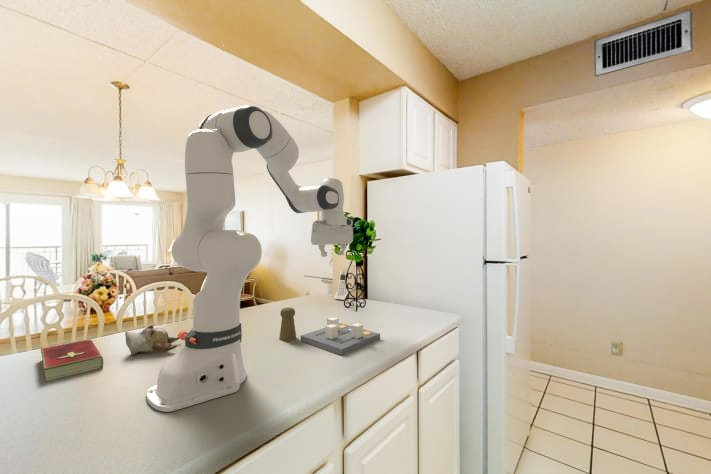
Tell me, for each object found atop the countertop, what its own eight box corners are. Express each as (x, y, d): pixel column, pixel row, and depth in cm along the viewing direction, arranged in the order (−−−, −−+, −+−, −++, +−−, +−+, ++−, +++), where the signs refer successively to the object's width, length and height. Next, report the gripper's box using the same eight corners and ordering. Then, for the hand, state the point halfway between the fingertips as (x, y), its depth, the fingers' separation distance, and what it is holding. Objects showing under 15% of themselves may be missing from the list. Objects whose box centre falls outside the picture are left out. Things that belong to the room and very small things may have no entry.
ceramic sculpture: (130, 322, 104) (181, 320, 110) (129, 348, 104) (180, 345, 110) (120, 332, 94) (177, 329, 100) (118, 360, 94) (175, 356, 100)
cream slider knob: (357, 338, 107) (357, 326, 107) (351, 336, 109) (351, 325, 109) (363, 336, 110) (363, 324, 110) (356, 334, 112) (356, 323, 112)
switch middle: (331, 339, 107) (331, 327, 106) (325, 337, 108) (325, 325, 108) (337, 337, 109) (337, 325, 109) (331, 335, 111) (331, 324, 111)
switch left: (332, 331, 115) (332, 320, 115) (327, 329, 117) (327, 318, 117) (338, 329, 118) (338, 318, 118) (332, 327, 120) (332, 317, 120)
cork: (298, 335, 117) (298, 306, 117) (293, 341, 111) (293, 310, 111) (282, 335, 118) (282, 305, 117) (276, 340, 112) (276, 309, 111)
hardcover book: (92, 350, 104) (91, 337, 104) (103, 369, 90) (103, 354, 90) (40, 361, 95) (40, 347, 95) (44, 384, 81) (44, 367, 81)
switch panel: (341, 355, 98) (341, 348, 98) (300, 341, 111) (300, 334, 111) (380, 339, 113) (380, 333, 113) (339, 328, 126) (339, 322, 126)
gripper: (318, 219, 114) (318, 258, 114) (355, 221, 129) (355, 254, 130) (307, 220, 118) (307, 257, 118) (344, 221, 134) (344, 254, 134)
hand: (332, 255), depth 124 cm, fingers open, 8 cm apart
